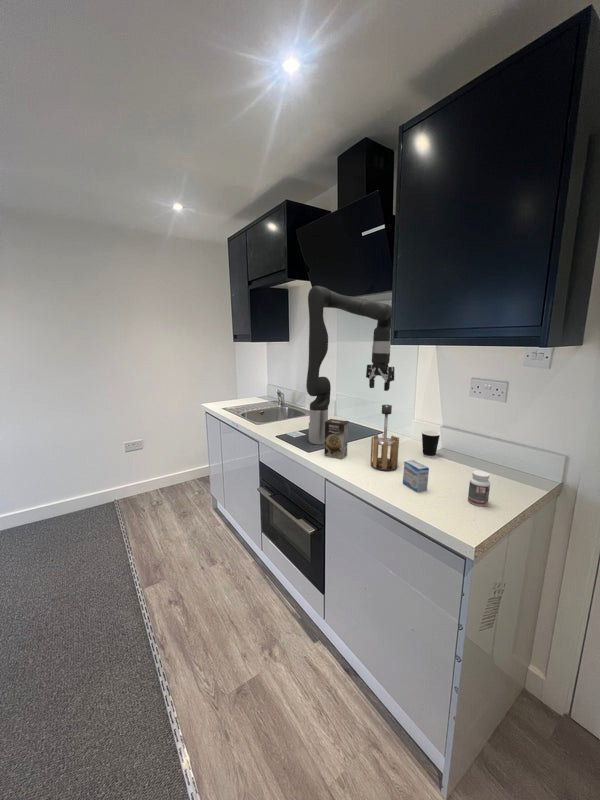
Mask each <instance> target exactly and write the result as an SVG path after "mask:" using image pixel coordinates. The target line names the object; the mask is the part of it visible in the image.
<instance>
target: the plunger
mask: <svg viewBox="0 0 600 800" xmlns="http://www.w3.org/2000/svg"><path fill="white" fill-rule="evenodd" d="M392 409H393V405H391V404H382V405H381V414H382V415H384V425H383V434H384V438H382V437H378V438H376V439H375V440H378V441H379V445H378V446H382V445H383V442H388V447H391V446H392V443H393V442H394V441H395V440H393V439H391V437H387V436H388V421H389V420H388V419H389V415H392Z"/></svg>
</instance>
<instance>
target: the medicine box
mask: <svg viewBox="0 0 600 800" xmlns="http://www.w3.org/2000/svg"><path fill="white" fill-rule="evenodd" d="M429 473H430V468H429V467H428V466H426V465H424V464H422V463H420V462H418V461H416V460H415V459H409V460H408V459H407V460H405V461H404V462H403V475H402V484H403V485H405V486H406V487H408V488H410V489H411V490H413V491H414V492H416V493H421V492H422V493H423V492H426V491H428V484H429Z"/></svg>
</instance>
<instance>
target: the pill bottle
mask: <svg viewBox="0 0 600 800" xmlns="http://www.w3.org/2000/svg"><path fill="white" fill-rule="evenodd" d="M471 474H472V477H471V478H470V479H469V482H468V483H469V485H468V492H467V493H468V495H467V496H468V497H467V501H468V502H469V503H470V504H472V505H474V506H478V507H485V506H488V504H489V498H490V497H489V496H490V489H491V482H490V473H488V472H486V471H483V470H473V471H472V472H471Z"/></svg>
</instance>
